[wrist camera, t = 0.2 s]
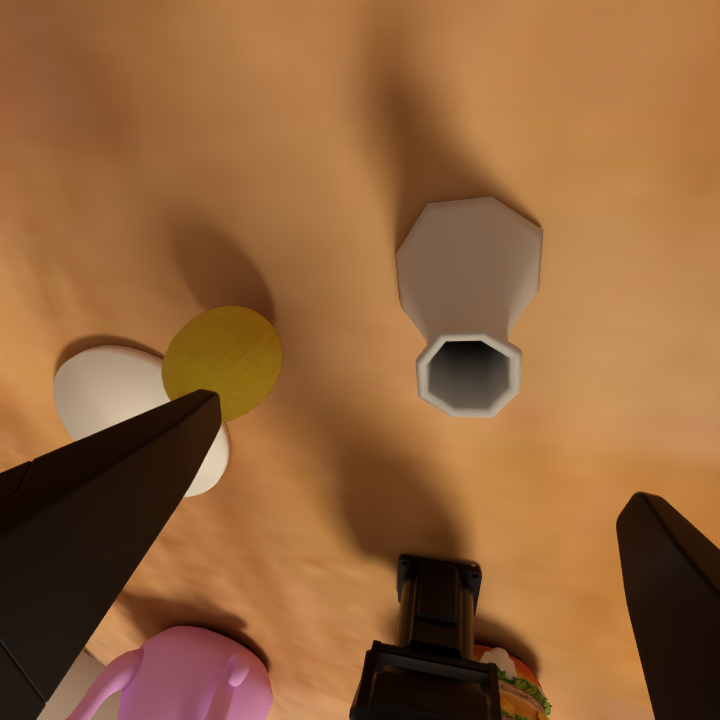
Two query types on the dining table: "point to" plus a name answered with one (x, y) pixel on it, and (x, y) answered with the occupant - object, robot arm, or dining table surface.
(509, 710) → the burger
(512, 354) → the flask
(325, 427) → the dining table surface
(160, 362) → the plate
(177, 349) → the lemon
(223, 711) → the teapot
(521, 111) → the dining table surface
